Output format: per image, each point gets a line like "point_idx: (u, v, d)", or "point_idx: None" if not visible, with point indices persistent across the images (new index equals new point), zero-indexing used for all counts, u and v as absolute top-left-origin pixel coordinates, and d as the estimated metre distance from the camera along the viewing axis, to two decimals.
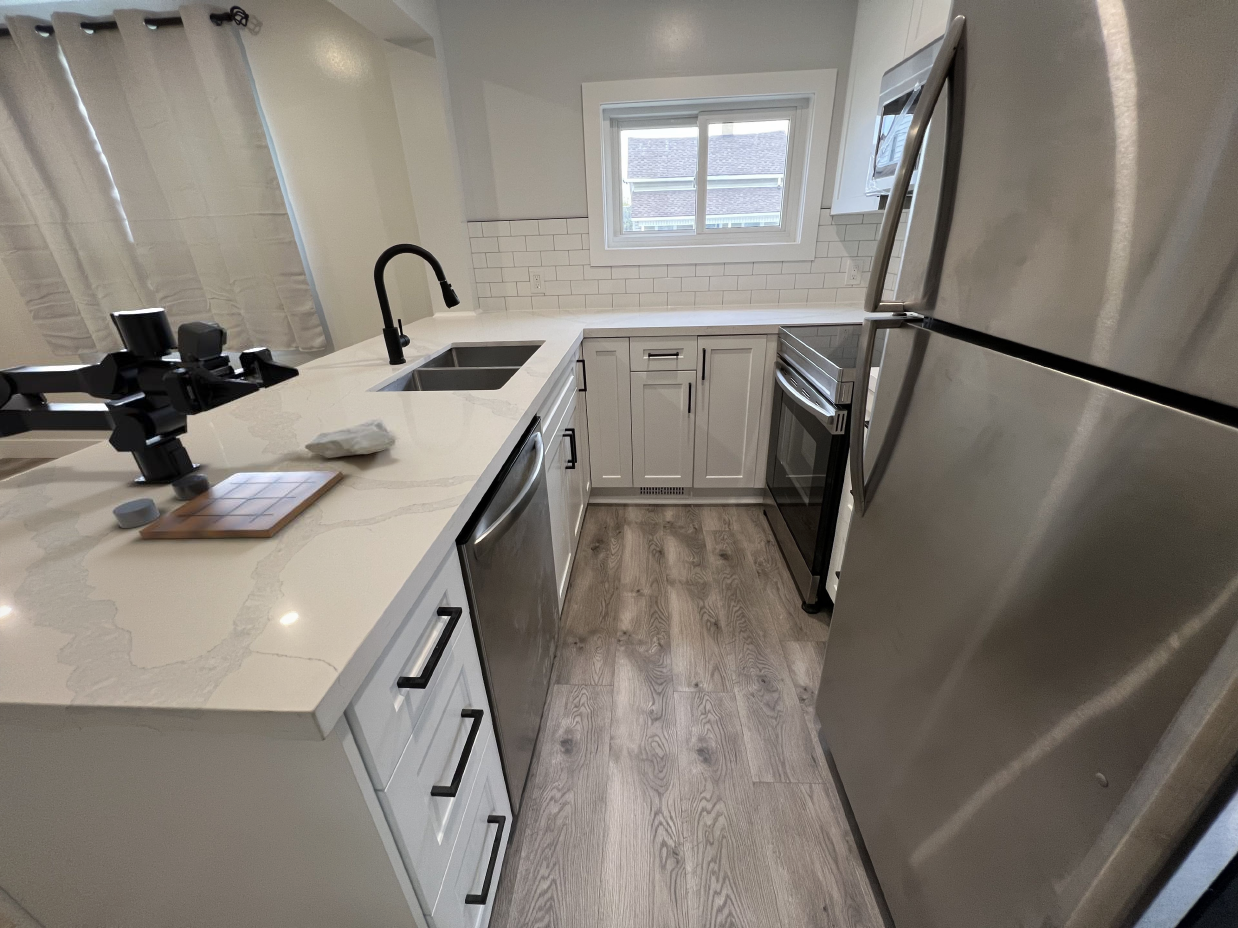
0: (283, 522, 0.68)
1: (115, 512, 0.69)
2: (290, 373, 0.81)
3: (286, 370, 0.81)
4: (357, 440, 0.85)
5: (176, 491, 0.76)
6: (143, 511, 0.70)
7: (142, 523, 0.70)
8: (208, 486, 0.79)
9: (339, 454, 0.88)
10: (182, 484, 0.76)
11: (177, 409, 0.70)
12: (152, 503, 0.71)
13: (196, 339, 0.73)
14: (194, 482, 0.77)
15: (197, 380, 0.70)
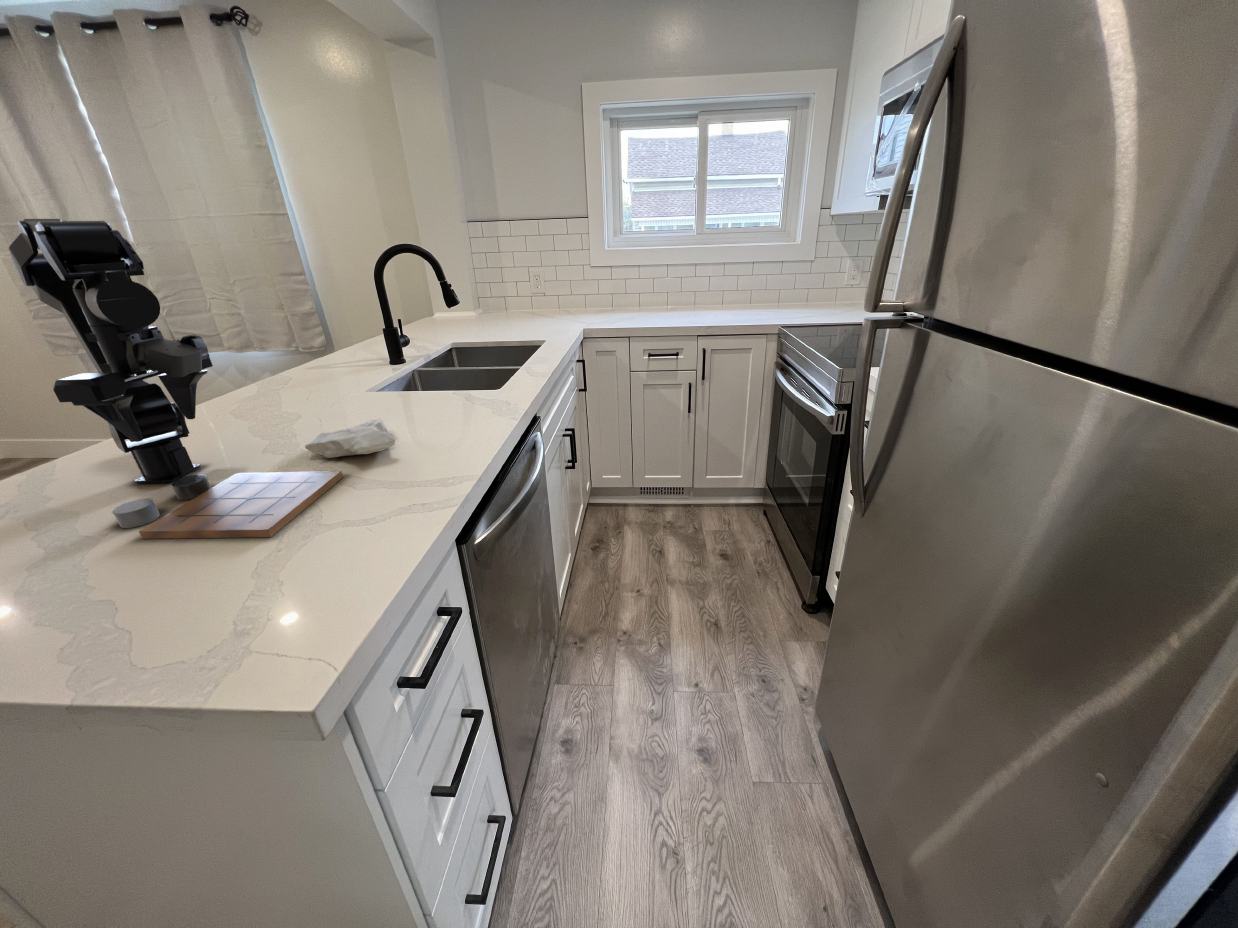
0: (283, 522, 0.68)
1: (115, 512, 0.69)
2: (186, 412, 0.78)
3: (188, 408, 0.78)
4: (357, 440, 0.85)
5: (176, 491, 0.76)
6: (143, 511, 0.70)
7: (142, 523, 0.70)
8: (208, 486, 0.79)
9: (339, 454, 0.88)
10: (182, 484, 0.76)
11: (56, 389, 0.62)
12: (152, 503, 0.71)
13: (168, 373, 0.68)
14: (194, 482, 0.77)
15: None
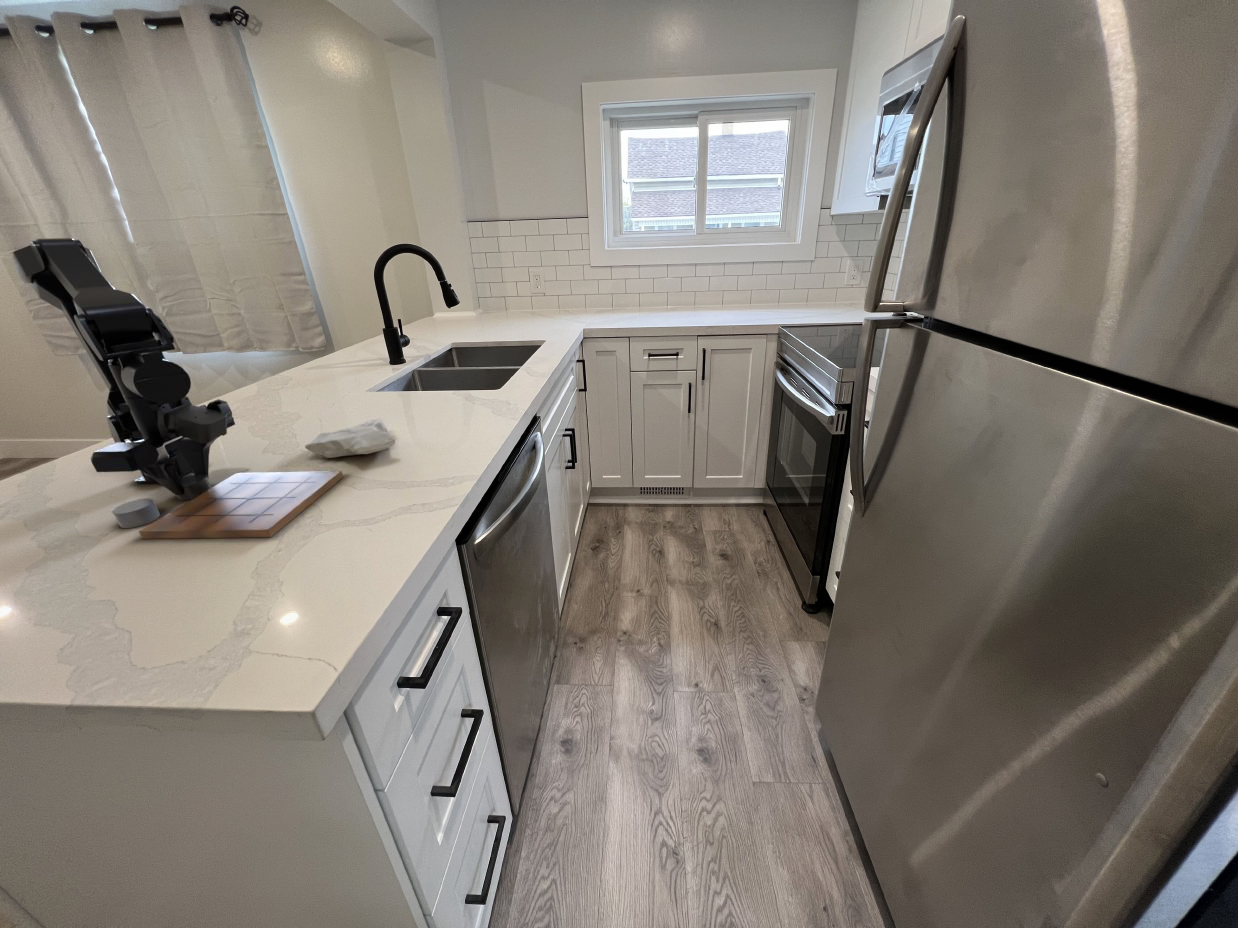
0: (283, 522, 0.68)
1: (115, 512, 0.69)
2: None
3: (201, 471, 0.80)
4: (357, 440, 0.85)
5: None
6: (143, 511, 0.70)
7: (142, 523, 0.70)
8: (209, 486, 0.79)
9: (339, 454, 0.88)
10: (182, 484, 0.76)
11: (94, 461, 0.66)
12: (152, 503, 0.71)
13: (197, 439, 0.72)
14: (194, 482, 0.77)
15: None
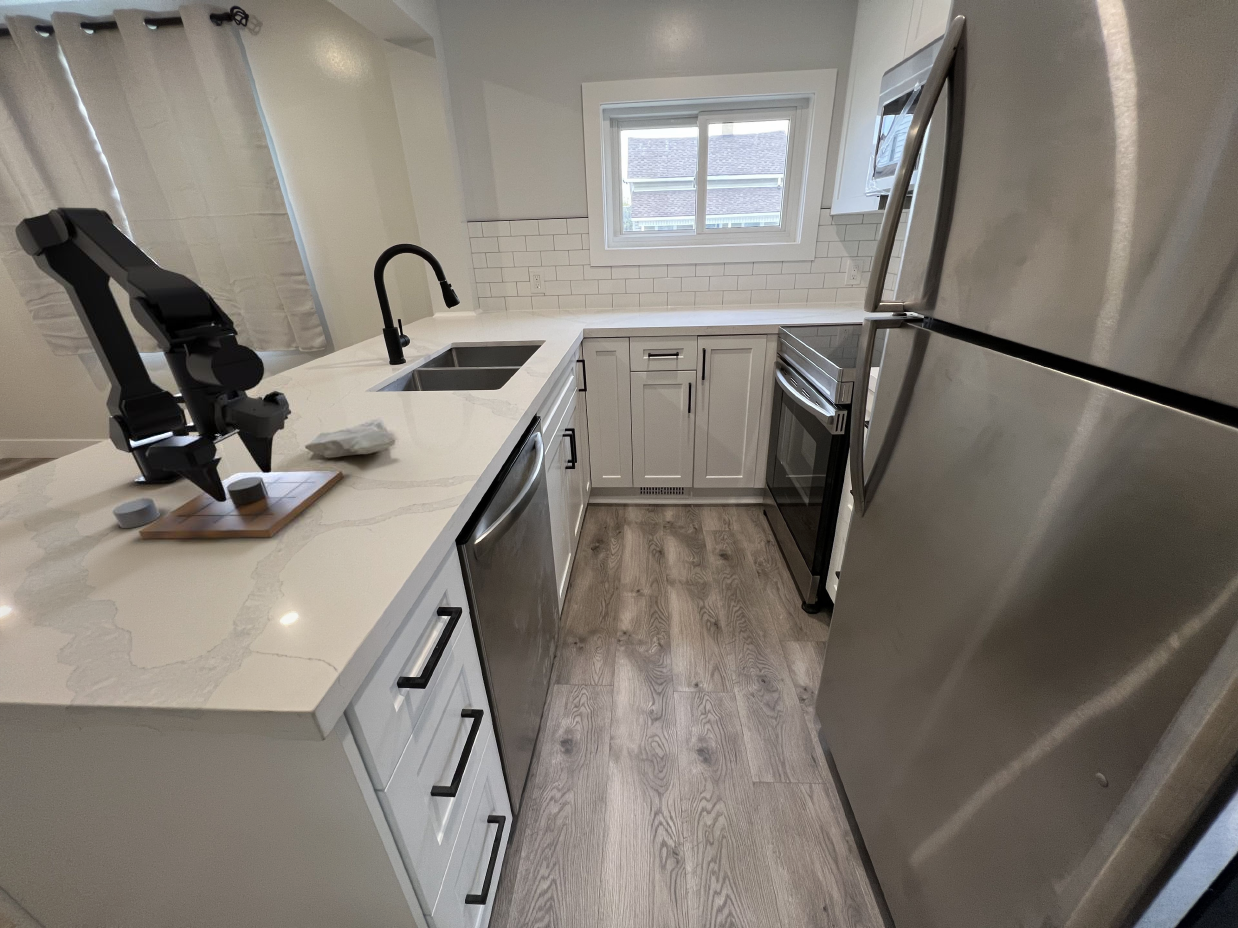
0: (283, 522, 0.68)
1: (115, 512, 0.69)
2: (262, 465, 0.77)
3: (264, 462, 0.77)
4: (357, 440, 0.85)
5: (232, 495, 0.72)
6: (143, 511, 0.70)
7: (142, 523, 0.70)
8: (264, 490, 0.74)
9: (339, 454, 0.88)
10: (238, 488, 0.72)
11: (150, 456, 0.61)
12: (152, 503, 0.71)
13: (255, 434, 0.67)
14: (251, 485, 0.72)
15: None
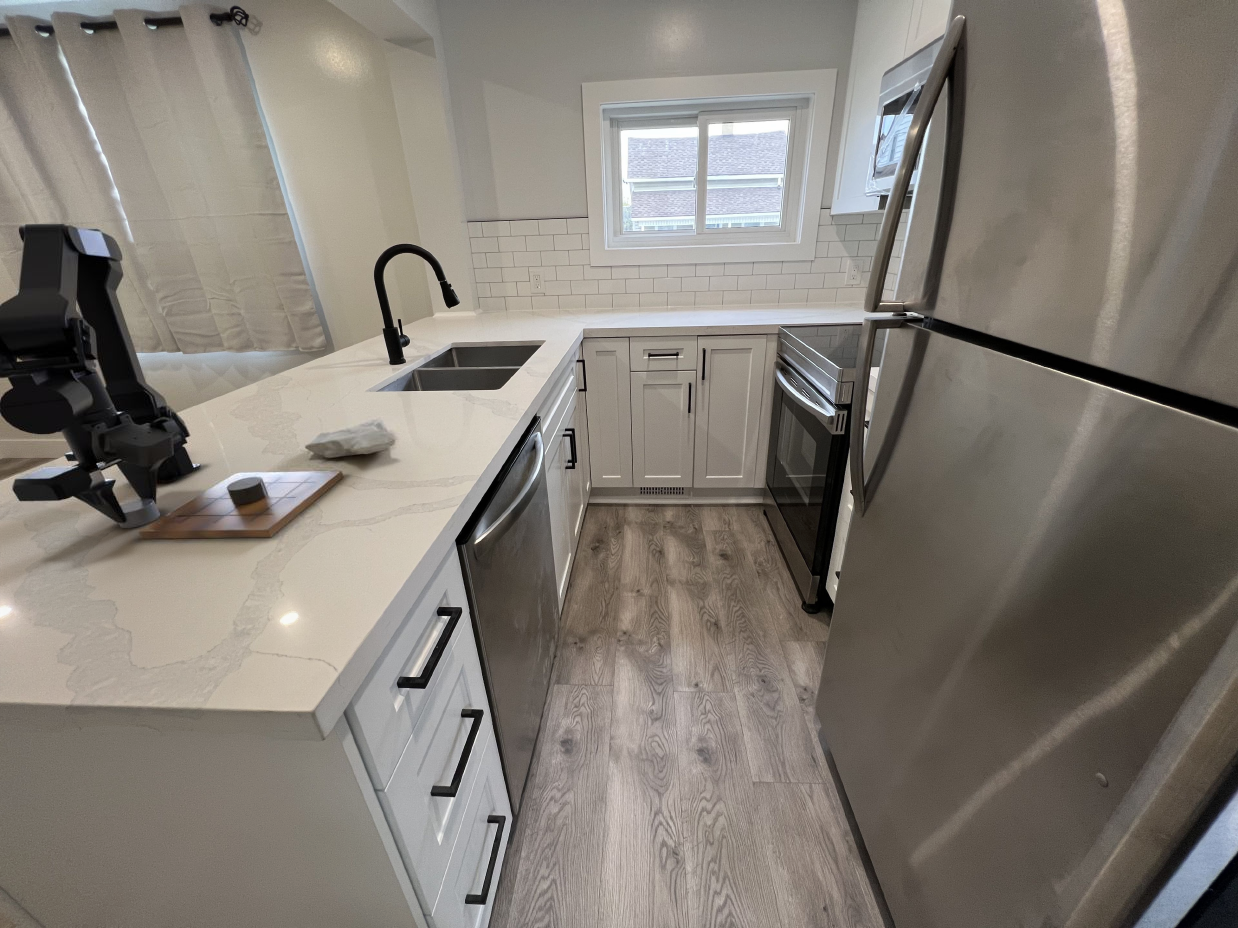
0: (283, 522, 0.68)
1: None
2: None
3: (147, 495, 0.73)
4: (357, 440, 0.85)
5: (232, 495, 0.72)
6: (144, 511, 0.70)
7: (142, 523, 0.70)
8: (264, 490, 0.74)
9: (339, 454, 0.88)
10: (238, 488, 0.72)
11: (15, 489, 0.59)
12: (152, 503, 0.72)
13: (137, 463, 0.65)
14: (251, 485, 0.72)
15: None
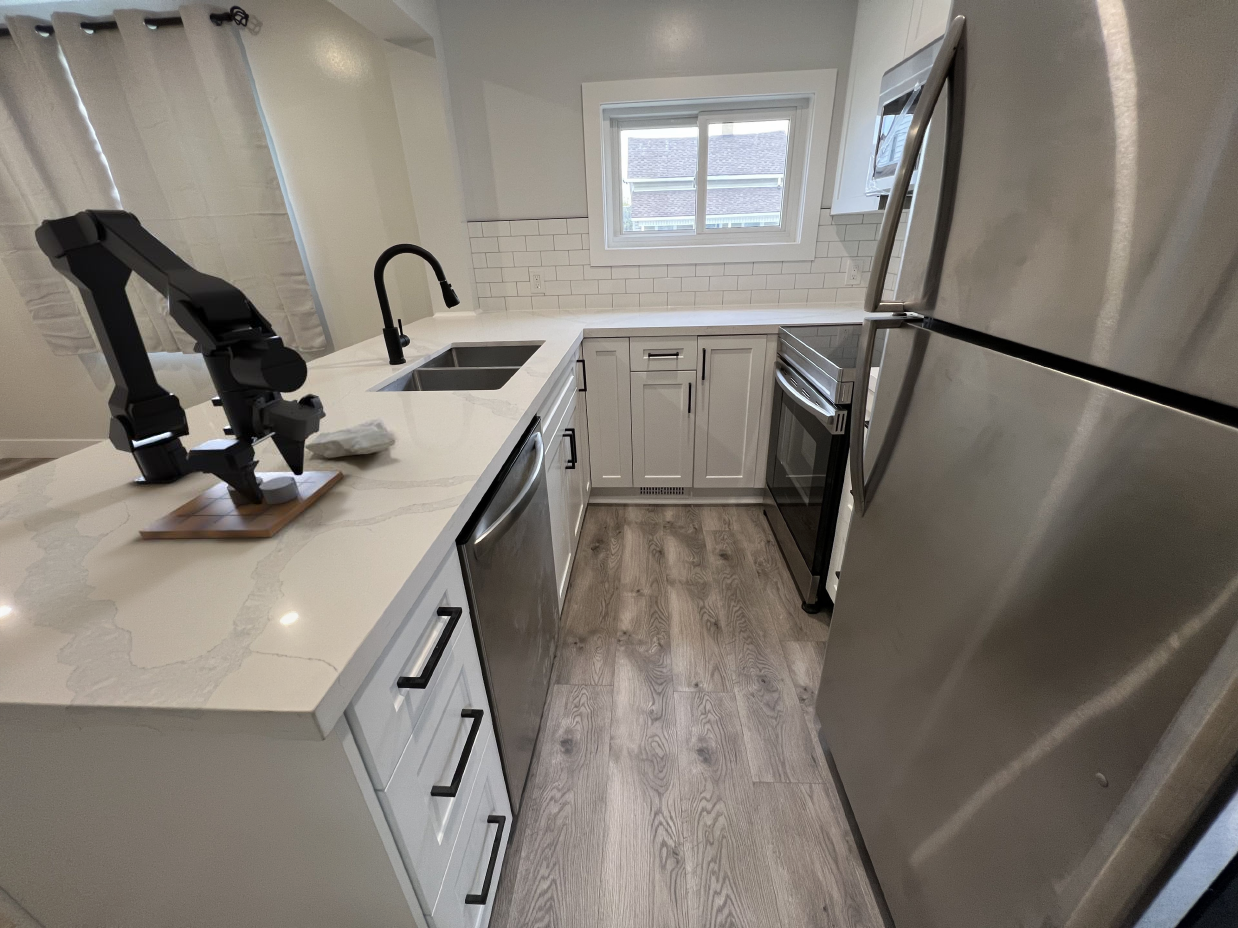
0: (283, 522, 0.68)
1: (263, 488, 0.71)
2: (294, 468, 0.77)
3: (296, 465, 0.77)
4: (357, 440, 0.85)
5: (232, 495, 0.72)
6: (289, 488, 0.72)
7: (287, 499, 0.73)
8: None
9: (339, 454, 0.88)
10: None
11: (190, 460, 0.61)
12: (294, 480, 0.74)
13: (292, 437, 0.67)
14: None
15: None
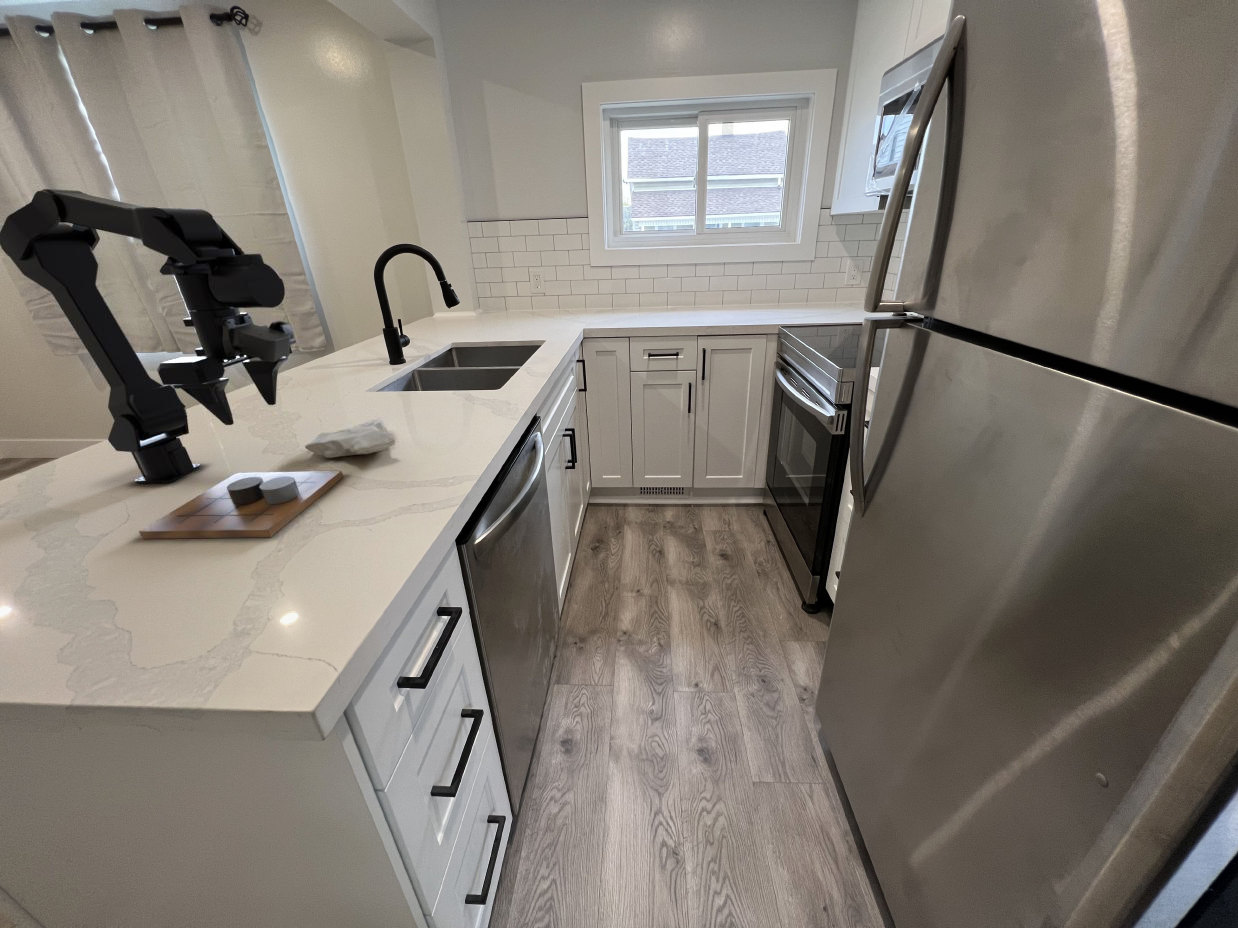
0: (283, 522, 0.68)
1: (263, 488, 0.71)
2: (267, 398, 0.80)
3: (269, 394, 0.79)
4: (357, 440, 0.85)
5: (232, 495, 0.72)
6: (289, 488, 0.72)
7: (287, 499, 0.73)
8: None
9: (339, 454, 0.88)
10: (238, 488, 0.72)
11: (161, 372, 0.64)
12: (294, 480, 0.74)
13: (262, 357, 0.70)
14: (251, 485, 0.72)
15: None
